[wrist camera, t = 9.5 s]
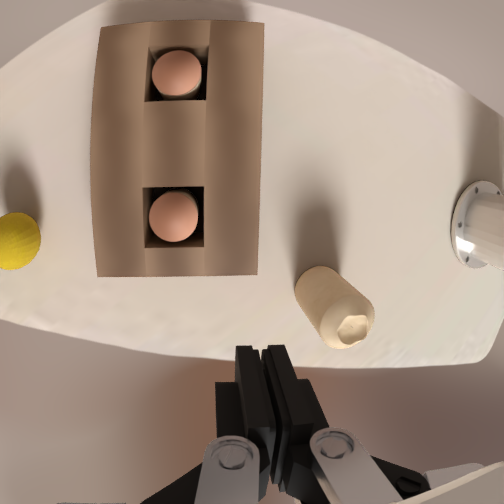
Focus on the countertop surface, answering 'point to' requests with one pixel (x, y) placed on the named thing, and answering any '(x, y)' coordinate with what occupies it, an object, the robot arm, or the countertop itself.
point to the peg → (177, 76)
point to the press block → (177, 148)
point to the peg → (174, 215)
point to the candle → (334, 307)
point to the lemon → (18, 240)
